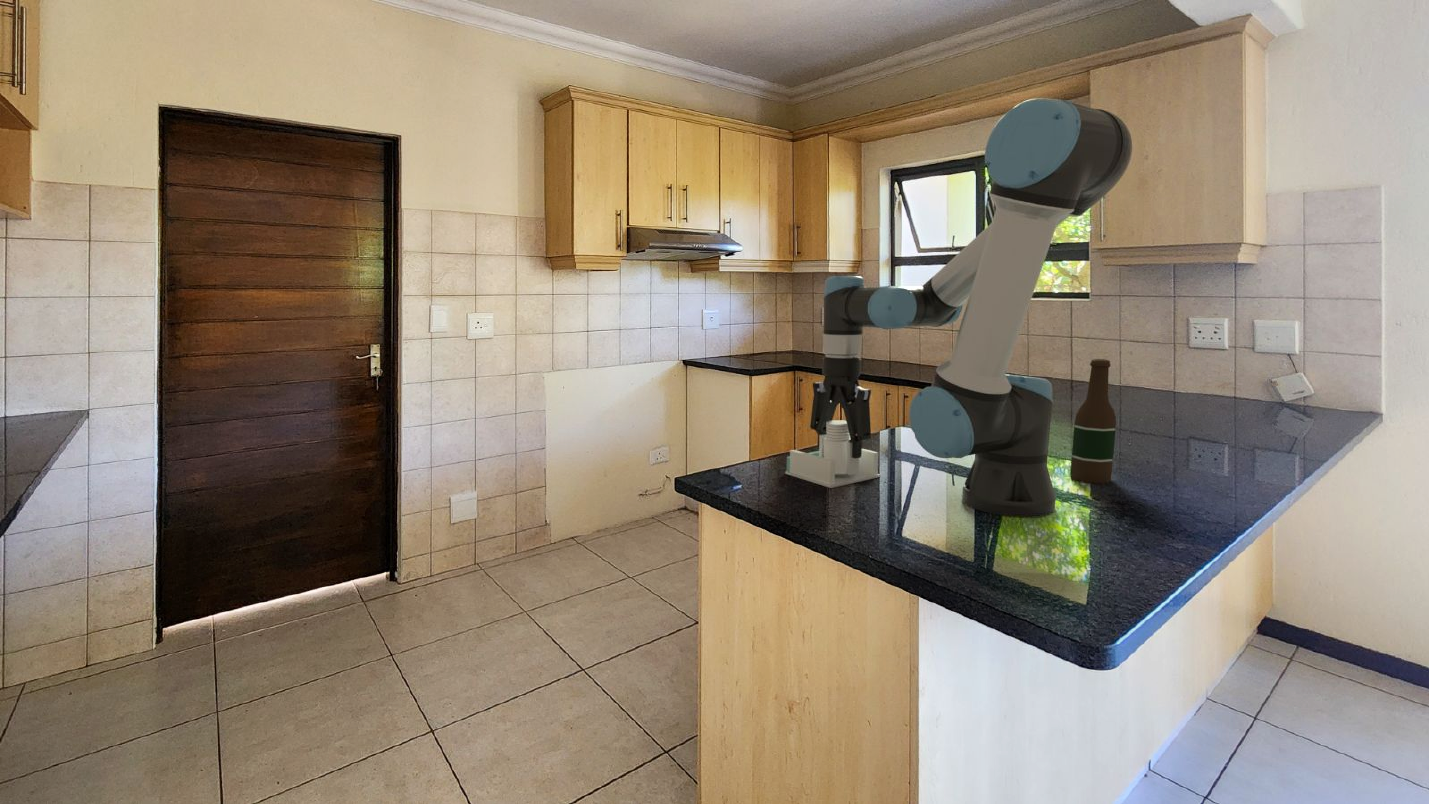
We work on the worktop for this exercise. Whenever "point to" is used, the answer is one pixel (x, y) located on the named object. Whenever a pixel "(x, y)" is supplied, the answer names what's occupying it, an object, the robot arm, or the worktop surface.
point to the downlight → (836, 444)
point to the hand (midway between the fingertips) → (838, 469)
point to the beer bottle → (1094, 430)
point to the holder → (830, 468)
